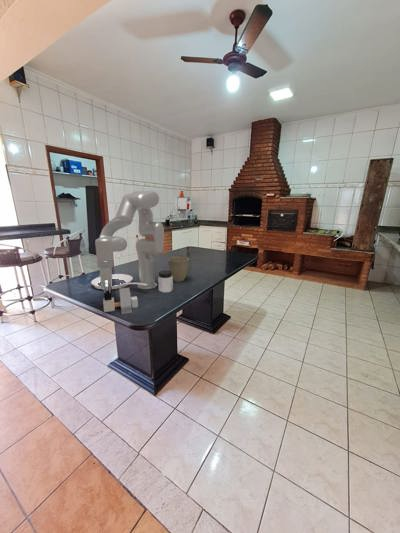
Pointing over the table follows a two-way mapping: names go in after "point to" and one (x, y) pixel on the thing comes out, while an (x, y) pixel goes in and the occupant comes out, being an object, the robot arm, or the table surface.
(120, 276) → the pan
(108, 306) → the block ended dumbbell
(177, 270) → the plant pot
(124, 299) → the block
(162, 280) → the jar
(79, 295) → the table surface
